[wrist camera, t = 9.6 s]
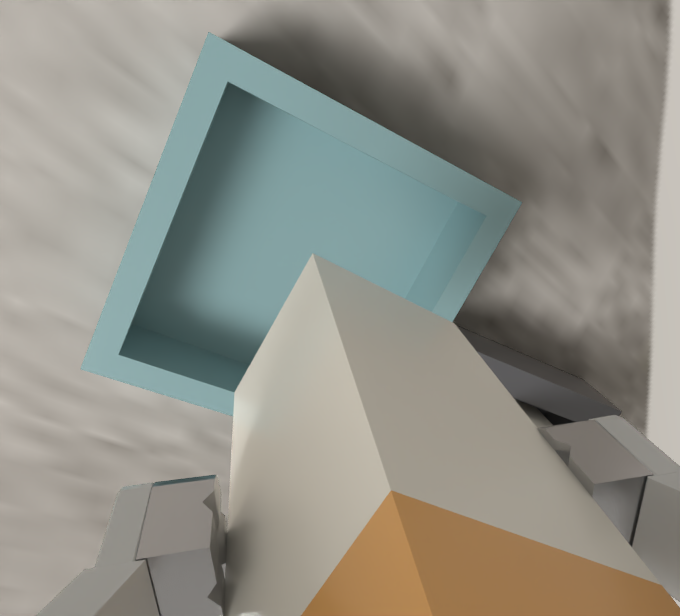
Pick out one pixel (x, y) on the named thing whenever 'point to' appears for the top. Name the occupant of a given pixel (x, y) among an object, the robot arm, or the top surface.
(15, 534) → the top surface
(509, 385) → the block
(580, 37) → the top surface
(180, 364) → the tray
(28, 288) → the top surface
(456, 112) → the top surface
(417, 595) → the block
